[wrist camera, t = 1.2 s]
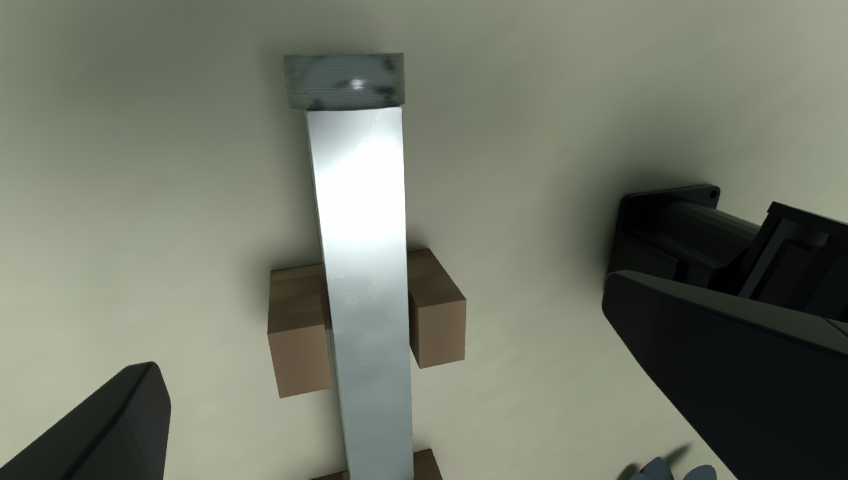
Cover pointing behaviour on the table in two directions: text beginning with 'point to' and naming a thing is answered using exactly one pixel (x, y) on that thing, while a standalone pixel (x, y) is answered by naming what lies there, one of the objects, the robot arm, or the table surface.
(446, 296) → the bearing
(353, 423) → the shaft
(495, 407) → the table surface
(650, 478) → the toy
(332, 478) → the bearing
